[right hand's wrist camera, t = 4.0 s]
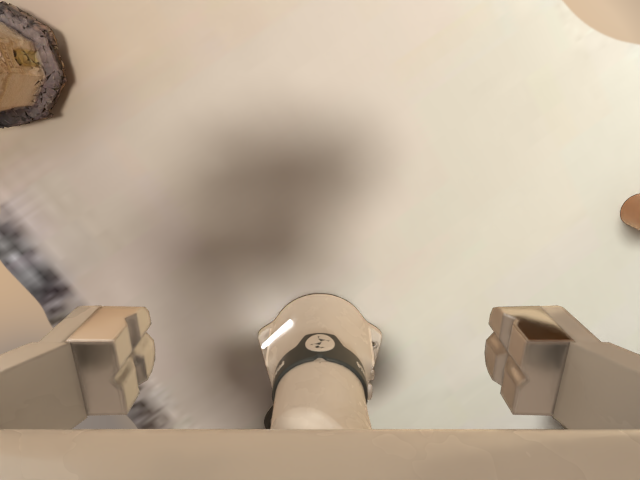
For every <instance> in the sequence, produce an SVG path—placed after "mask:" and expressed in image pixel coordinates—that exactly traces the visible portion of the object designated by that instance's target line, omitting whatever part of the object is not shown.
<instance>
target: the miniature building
mask: <svg viewBox="0 0 640 480" xmlns="http://www.w3.org/2000/svg"><path fill="white" fill-rule="evenodd" d="M20 24H22V25H23V26H24V27H25V29H23V27H22V25H20ZM27 26H28V28H26V27H27ZM12 29H13V30H12ZM19 31H20V32H21V33H20V32H19ZM13 32H14V33H13ZM15 34H16V35H15ZM40 35H41V36H43V37H40ZM22 36H23V37H22ZM31 38H32V39H31ZM23 40H24V41H23ZM48 43H49V44H48ZM42 45H43V46H44V47H43V46H42ZM49 45H50V47H51V48H52V51H51V49H50V47H49ZM57 45H58V44H57V41H56V38H55V36H54V33H53V31H52V30H51V29H50V28H49V27H48V26H47V25H44V24H42V23H41V22H39V21H38V20H37V19H35V18H34V17H32V16H31V15H29V14H28V13H25V12H23V11H22V10H21V9H19V8H18V7H16V6H14V5H12V4H10V3H9V4H7V3H6V2H4V1H2V2H0V128H4V127H12V126H20V125H21V124H27V123H30V122H33V121H36V120H42V119H47V118H49V117H52V116H53V115H52V114H51V113H50V112H51V109H52V107H53V106H54V105H55V104H56V102H57V100H58V98H59V95H60V93H61V90H62V88H63V87H64V85H65V84H66V82H67V79H66V76H65V72H64V71H65V68H64V64H63V62H62V60H61V58H60V57H61V56H60V55H59V54H58V51H57V50H58V46H57ZM53 47H54V48H53ZM43 48H44V49H45V50H44V49H43ZM31 50H32V51H31ZM23 51H24V52H25V53H24V52H23ZM27 52H28V54H27ZM24 54H27V56H28V55H29V56H28V57H30V58H31V59H32V60H33V61H34V62H35V63H34V62H33V61H32V60H31V59H30V58H29V59H30V60H27V59H28V57H27V56H26V55H24ZM29 62H30V63H31V64H30V63H29ZM37 62H40V63H39V64H38V63H37ZM31 66H32V67H33V69H32V67H31ZM59 68H60V69H59ZM44 69H45V70H44ZM38 71H39V72H38ZM54 71H55V72H54ZM45 72H46V75H45ZM53 72H54V73H53ZM58 72H59V73H60V75H59V73H58ZM51 73H52V74H51ZM50 74H51V75H50ZM49 75H50V77H49V78H48V80H47V79H46V77H48V76H49ZM38 76H39V77H38ZM61 76H62V77H61ZM38 80H39V81H40V82H38ZM41 80H42V81H41ZM46 80H47V81H46ZM37 82H38V83H37ZM36 83H37V84H36ZM40 83H42V84H40ZM35 84H36V85H35ZM61 84H62V86H61ZM41 85H43V86H41ZM43 87H44V88H43ZM45 88H46V90H45ZM52 88H55V89H52ZM45 91H46V93H43V92H45ZM40 92H42V96H43V98H42V96H41V95H40V94H41V93H40ZM33 95H39V96H33ZM47 95H48V96H47ZM39 98H42V103H41V99H39ZM32 101H34V102H32ZM47 103H48V104H47ZM29 104H30V105H29ZM38 104H39V105H38ZM25 106H27V107H28V108H26V107H25Z"/></svg>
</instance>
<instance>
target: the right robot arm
mask: <svg viewBox="0 0 640 480" xmlns="http://www.w3.org/2000/svg"><path fill="white" fill-rule="evenodd" d="M150 325H151V319H150V314H149V311H148V310H147V308H146V307H131V306H79V307H77V308H76V309H75V310H73V311H72V312H71V313H70V314H69V315H68V316H67V317H66V318H65V319H63V320H62V321H61V322H60V323H59V324H58V325H57V326H56V327H55V328H54V329H52V330H51V331H50V332H49V333H48V334H47V335H46V336H45V337H44V338H43V339H41V340H40V341H39V342H31V343H29V344H26V345H23V346H21V347H18V348H16V349H13V350H11V351H8V352H6V353H3V354H1V355H0V480H640V355H639V354H637V353H634V352H632V351H629V350H627V349H624V348H622V347H619V346H617V345H614V344H612V343H609V342H601V341H600V340H599V339H598V338H596V337H595V336H594V335H593V334H592V333H591V332H590V331H589V330H588V329H587V328H585V327H584V326H583V325H582V324H581V323H580V322H579V321H578V320H577V319H576V318H574V317H573V316H572V315H571V314H570V313H569V312H568V311H567V310H566V309H565V308H563V307H561V306H557V305H556V306H514V307H495V308H493V309H492V311H491V314H490V318H489V325H490V327H491V328H492V330H493V331H494V332H493V333H492V334H491V335H490V337H489V338H488V339H487V340H486V345H485V362H486V367H487V370H488V373H489V374H490V376H491V378H492V380H493V381H495V382H497V383H498V384H500V385H501V392H500V394H501V395H502V397H503V399H504V400H505V402H506V404H507V405H508V407H509V409H510V410H511V412H512V414H513V415H549V416H553V418H554V419H556V420H557V421H558V422H560V423H561V424H562V425H564V426H565V427H566V428H568V429H372V427H371V423H370V420H369V416H368V411H367V406H366V404H367V400H370V399H371V398H372V391H373V387H372V384H370V383H369V382H370V380H373V379H374V370H373V368H374V364H375V361H376V358H377V354H378V351H379V347H380V344H381V340H382V334H381V331H380V330H379V329H378V328H376V327H375V326H373V325H372V324H370V323H368V322H367V321H366V320H365V319H364V318H363V316H362V315H361V314H360V312H359V311H358V310H357V309H356V308H355V307H354V306H353V305H352V304H351V303H349V302H348V301H346V300H344V299H342V298H339V297H337V296H333V295H328V294H312V295H307V296H303V297H301V298H298V299H296V300H294V301H292V302H291V303H289V304H288V305H287V306H286V307H285V308H284V309H283V310H282V311H281V312H280V314H279V315H278V316H277V318H276V319H275V320H274V321H273V322H272V323H270V324H268V325H267V326H265V327H264V328H262V329H261V330H260V331H259V334H258V340H259V344H260V347H261V351H262V354H263V357H264V361H265V364H266V368H267V371H268V375H269V378H270V382H271V385H272V389H273V390H272V400H273V404H274V405H273V406H272V407H271V409H270V410H269V411H268V413H267V414H266V417H265V420H264V424H265V427H266V429H72V428H74V427H75V426H76V425H78V424H79V423H81V422H82V421H83V420H85V419H86V418H87V416H90V415H126V414H128V412H129V411H130V409H131V407H132V405H133V404H134V402H135V400H136V399H137V397H138V395H139V394H140V392H139V385H140V384H142V383H143V382H145V381H147V380H148V378H149V376H150V374H151V373H152V370H153V366H154V362H155V344H154V340H153V339H152V338H151V337H150V335H149V334H148V333H147V332H146V331H147V330H148V328H149V327H150ZM372 342H374V343H373V344H372ZM271 418H272V420H271ZM270 420H271V424H270Z"/></svg>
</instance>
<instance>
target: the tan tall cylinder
mask: <svg viewBox="0 0 640 480" xmlns="http://www.w3.org/2000/svg"><path fill="white" fill-rule="evenodd" d="M620 215H621V219H622V221H623V222H624V223H625V224H627V225H629V226H631V227H633V228H635V229H638V230H640V194H637V195H634V196H632V197H630V198H629V199H628V200H627V201H626V202H625V203H624V204H623V206H622V208H621V213H620Z"/></svg>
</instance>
